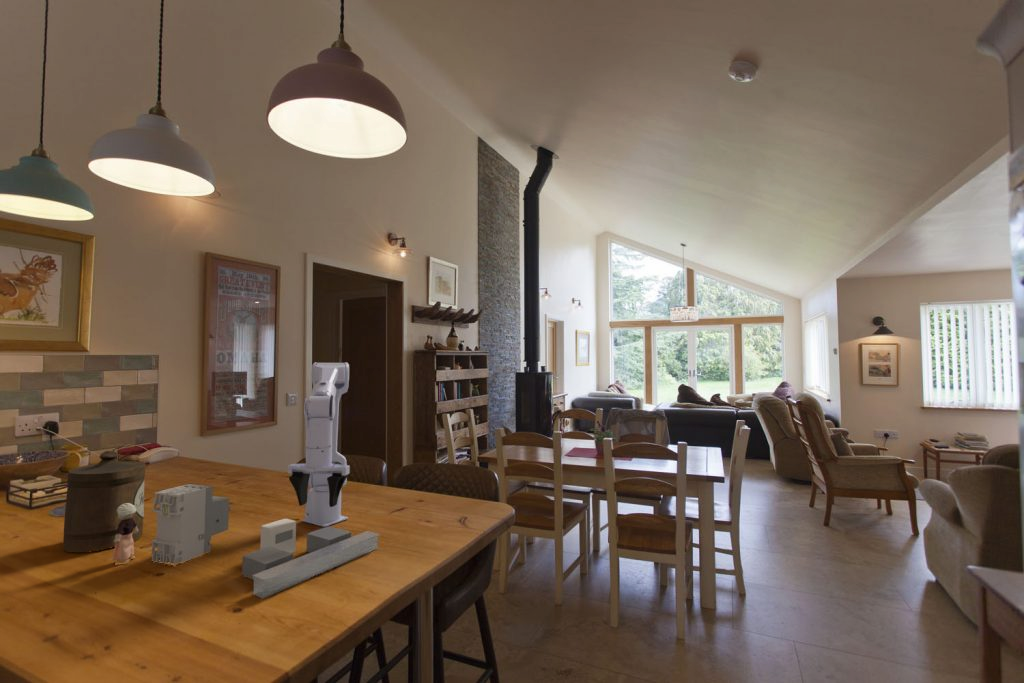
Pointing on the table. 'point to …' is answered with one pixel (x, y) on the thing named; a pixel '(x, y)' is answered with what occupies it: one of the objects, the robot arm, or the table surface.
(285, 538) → the block
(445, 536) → the table surface
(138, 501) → the wooden container
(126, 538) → the grandmother figurine
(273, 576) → the din rail
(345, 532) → the mounted modules
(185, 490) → the circuit breaker
